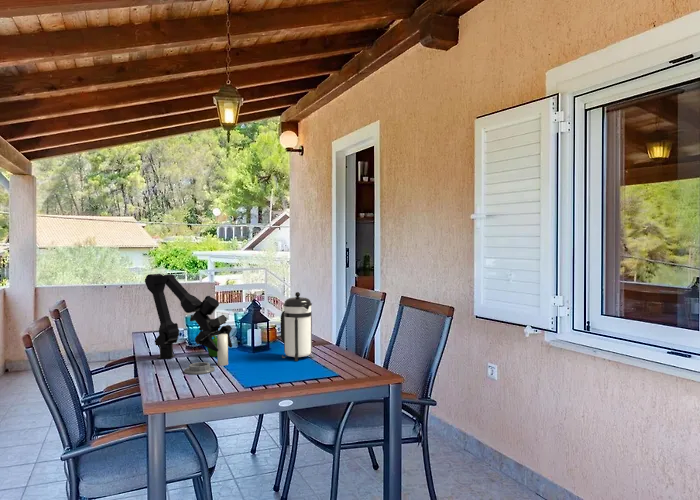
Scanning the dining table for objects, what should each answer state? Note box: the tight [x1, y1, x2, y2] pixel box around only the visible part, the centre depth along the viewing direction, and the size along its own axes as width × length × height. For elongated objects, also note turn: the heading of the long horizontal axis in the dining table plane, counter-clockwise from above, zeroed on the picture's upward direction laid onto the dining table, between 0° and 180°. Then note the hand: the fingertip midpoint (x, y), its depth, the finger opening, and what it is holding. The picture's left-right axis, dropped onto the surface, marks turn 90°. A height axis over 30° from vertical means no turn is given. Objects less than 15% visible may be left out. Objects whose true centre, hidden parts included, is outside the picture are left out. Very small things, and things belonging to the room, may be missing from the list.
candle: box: [216, 334, 229, 367], centre depth 230 cm, size 4×4×13 cm
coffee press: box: [280, 291, 316, 362], centre depth 242 cm, size 17×16×30 cm
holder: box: [184, 361, 216, 376], centre depth 219 cm, size 12×12×3 cm
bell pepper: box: [206, 336, 218, 358], centre depth 247 cm, size 8×8×10 cm
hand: (224, 348), depth 229 cm, fingers open, 9 cm apart
